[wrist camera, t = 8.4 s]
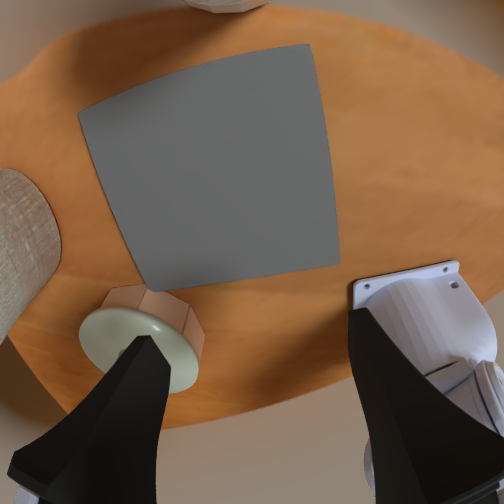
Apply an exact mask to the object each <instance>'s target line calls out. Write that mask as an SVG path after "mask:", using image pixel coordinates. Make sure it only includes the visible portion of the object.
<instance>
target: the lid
mask: <svg viewBox="0 0 504 504" xmlns="http://www.w3.org/2000/svg"><path fill="white" fill-rule="evenodd" d="M141 335H151V337H152V338H153V340H154V342H155V343H156V345H157V346H158V348H159V349H160V351H161V352H162V354H163V355H164V357H165V358H166V360H167V361H168V363H169V364H170V366H171V378H170V388H169V393H176V392H180V391H183V390H185V389H187V388H189V387H191V386H192V385H193V384H194V383H195V381H196V379H197V376H198V371H199V357H198V355H197V352H196V350H195V349H194V347H193V346H192V344H191V343H190V342H189V341H188V340H187V339H186V338H185V336H183V335H182V334H181V333H180V332H179V331H178V330H176V329H175V328H173V327H172V326H171V325H169V324H167V323H166V322H164V321H162V320H160V319H158V318H156V317H154V316H152V315H149V314H147V313H144V312H141V311H138V310H135V309H130V308H125V307H114V306H110V307H102V308H98V309H96V310H94V311H92V312H91V313H89V314H88V315H87V316H86V318H85V320H84V321H83V323H82V325H81V327H80V330H79V340H80V344H81V347H82V349H83V351H84V352H85V354H86V355H87V357H88V358H89V359H90V360H91V362H92V363H93V364H94V365H95V366H96V367H98V368H99V369H100V370H101V371H102V372H104V373H105V374H106V373H107V372H108V371H109V369H110V368H111V367H112V366H113V364H114V363H115V362H116V361H117V359H118V358H119V357H120V356H121V354H122V353H123V352H124V351H125V349H126V348H127V347H128V346H129V345H130V343H131V342H132V341H133V340H134V339H135V338H136V336H141Z"/></svg>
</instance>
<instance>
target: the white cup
mask: <svg viewBox="0 0 504 504" xmlns="http://www.w3.org/2000/svg"><path fill="white" fill-rule="evenodd" d="M183 1H185V2H186V3H187V4H188V5H190V6H192V7H196V8H199V9H202V10H206V11H209V12H212V13H234V12H245V11H248V10H250V9H253V8H255V7H258V6H261V5H264V4H266V3H269V2H270V1H271V0H183Z"/></svg>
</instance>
